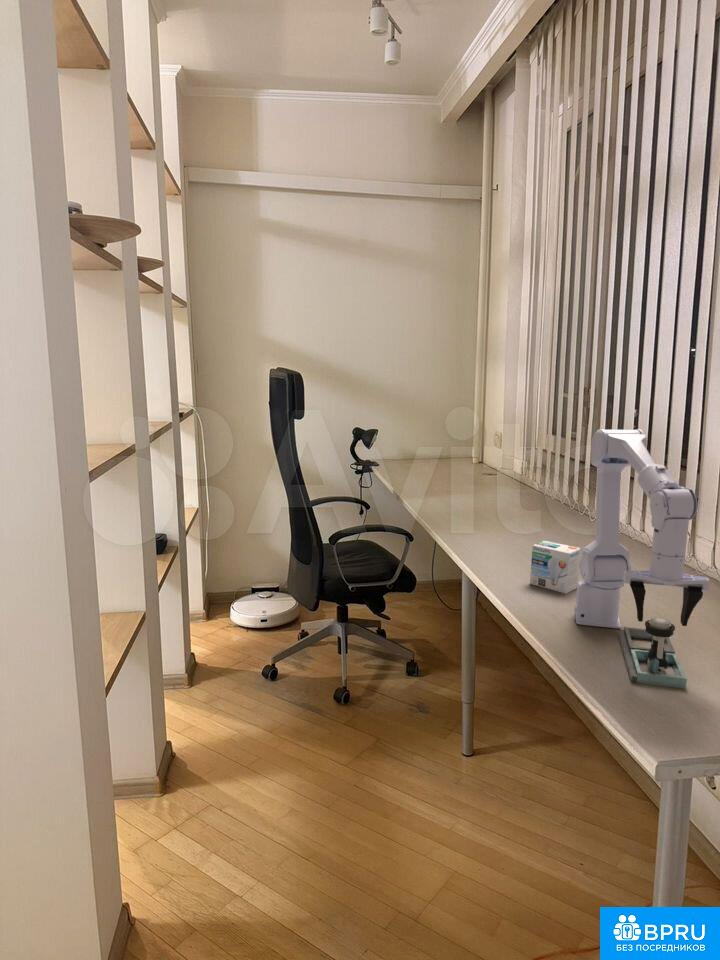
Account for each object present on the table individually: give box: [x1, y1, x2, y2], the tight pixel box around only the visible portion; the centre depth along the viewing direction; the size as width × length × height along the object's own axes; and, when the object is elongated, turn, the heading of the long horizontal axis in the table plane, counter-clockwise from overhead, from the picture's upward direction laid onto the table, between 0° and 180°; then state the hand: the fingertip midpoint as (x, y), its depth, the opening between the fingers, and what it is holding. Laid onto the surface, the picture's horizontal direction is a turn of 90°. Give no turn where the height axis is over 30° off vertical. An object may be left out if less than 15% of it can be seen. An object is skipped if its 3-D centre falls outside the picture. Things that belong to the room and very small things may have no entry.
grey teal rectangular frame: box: [618, 626, 688, 690], centre depth 139 cm, size 9×22×2 cm, turn 166°
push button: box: [644, 616, 676, 674], centre depth 134 cm, size 7×5×10 cm
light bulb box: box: [529, 540, 582, 595], centre depth 181 cm, size 11×7×11 cm, turn 47°
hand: (661, 621), depth 132 cm, fingers open, 7 cm apart
